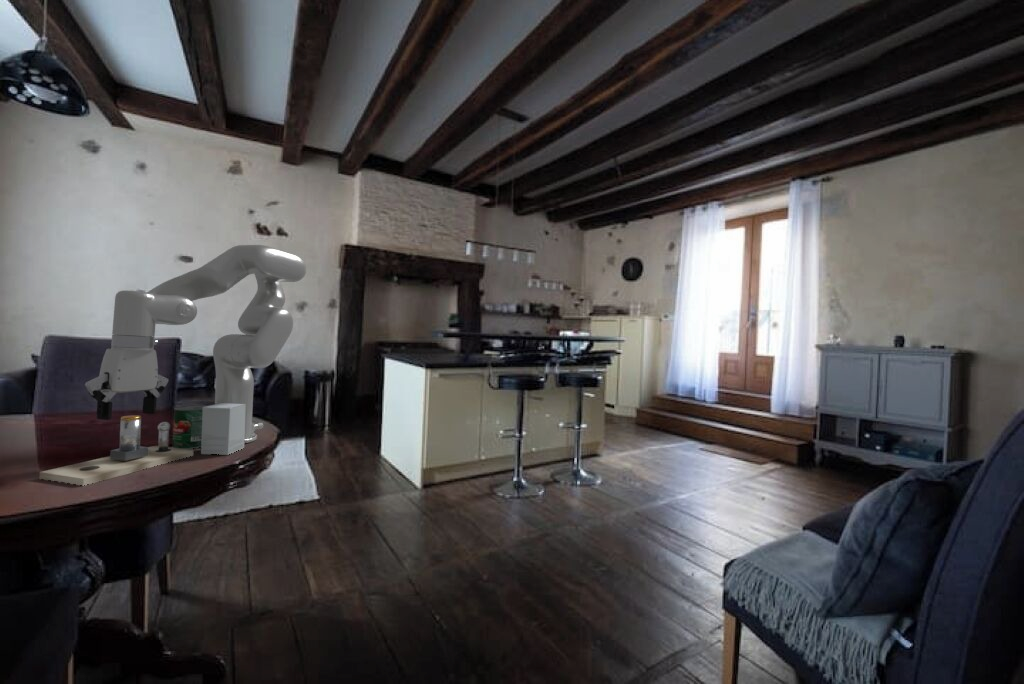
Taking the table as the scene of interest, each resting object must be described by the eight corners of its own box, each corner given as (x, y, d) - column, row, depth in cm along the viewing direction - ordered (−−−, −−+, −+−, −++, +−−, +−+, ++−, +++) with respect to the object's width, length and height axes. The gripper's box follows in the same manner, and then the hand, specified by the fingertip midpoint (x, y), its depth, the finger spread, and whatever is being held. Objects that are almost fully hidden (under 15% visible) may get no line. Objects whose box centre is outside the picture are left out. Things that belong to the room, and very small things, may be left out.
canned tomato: (164, 449, 116) (166, 408, 116) (186, 442, 124) (188, 404, 123) (194, 450, 116) (196, 409, 116) (214, 443, 124) (215, 405, 124)
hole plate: (156, 451, 113) (156, 445, 113) (193, 455, 111) (193, 449, 111) (39, 479, 90) (39, 471, 90) (83, 486, 87) (83, 478, 87)
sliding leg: (133, 453, 104) (135, 414, 104) (147, 455, 103) (149, 415, 103) (110, 458, 99) (111, 417, 99) (125, 460, 99) (126, 419, 98)
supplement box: (245, 448, 120) (247, 403, 120) (227, 455, 112) (229, 408, 112) (218, 447, 120) (220, 402, 120) (199, 454, 112) (201, 406, 112)
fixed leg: (164, 448, 111) (165, 420, 111) (172, 449, 110) (173, 421, 110) (153, 451, 108) (155, 422, 108) (162, 452, 108) (163, 423, 108)
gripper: (157, 343, 110) (152, 410, 110) (77, 341, 93) (70, 420, 93) (181, 345, 109) (176, 412, 108) (103, 343, 92) (97, 423, 91)
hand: (127, 416), depth 101 cm, fingers open, 9 cm apart
